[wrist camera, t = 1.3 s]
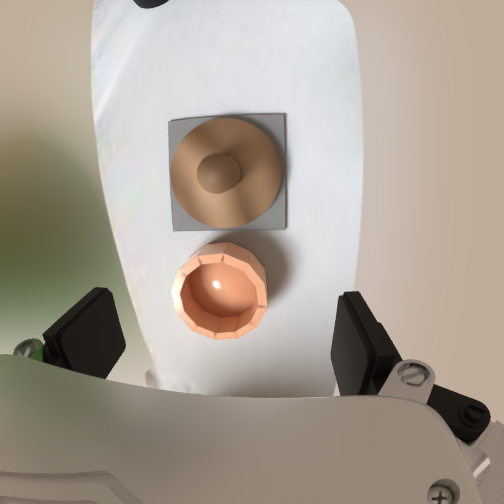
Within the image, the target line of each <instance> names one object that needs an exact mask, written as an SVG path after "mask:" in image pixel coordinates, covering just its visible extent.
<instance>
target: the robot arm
mask: <svg viewBox="0 0 504 504" xmlns="http://www.w3.org/2000/svg"><path fill="white" fill-rule="evenodd" d="M43 337H44V340H45V342H46V343H45V344H44V345H43V343H42V342H41V341H40V340H39V339H35V338H32V339H27V340H25V341H23V342H21V343H20V344H18V345H17V346H16V348H15V349H14V352H13V355H10V354H9V355H8V354H2V355H0V504H504V425H503V424H501V423H500V422H498V421H496V422H495V423H493V422H491V421H490V418H491V416H490V412H489V410H488V408H487V407H486V406H485V405H484V404H483V403H481V402H480V401H478V400H475V399H472V398H469V397H467V396H464V395H461V394H458V393H456V392H454V391H451V390H448V389H446V388H443V387H440V386H438V385H435V384H434V381H435V374H434V371H433V370H432V368H431V367H430V366H428V365H427V364H426V363H423V362H421V361H418V360H404V361H403V360H402V358H401V356H400V355H399V353H398V351H397V349H396V347H395V346H394V344H393V342H392V341H391V339H390V337H389V336H388V334H387V332H386V330H385V329H384V327H383V325H382V324H381V323H379V322H377V320H376V319H375V317H374V315H373V314H372V312H371V310H370V309H369V307H368V305H367V304H366V302H365V301H364V299H363V297H362V296H361V294H360V292H359V291H352V292H344V294H343V295H341V296H339V298H338V306H337V313H336V320H335V327H334V334H333V341H332V347H331V361H332V365H333V369H334V372H335V376H336V380H337V384H338V388H339V392H340V396H332V397H305V398H246V397H226V396H212V395H201V394H191V393H182V392H174V391H167V390H160V389H153V388H147V387H141V386H136V385H130V384H125V383H120V382H115V381H111V380H106V378H107V376H108V374H109V373H110V371H111V370H112V368H113V367H114V365H115V364H116V362H117V361H118V359H119V358H120V356H121V355H122V353H123V352H124V350H125V347H126V343H125V339H124V336H123V333H122V329H121V325H120V322H119V318H118V314H117V310H116V306H115V302H114V298H113V294H112V293H111V292H110V291H109V290H108V289H107V288H101V287H95V288H94V289H92V290H91V291H90V292H89V293H88V294H87V295H85V296H84V297H83V298H82V299H81V300H80V301H79V302H78V303H76V304H75V305H74V306H73V307H72V308H71V309H69V310H68V311H67V312H66V313H65V314H64V315H63V316H62V317H61V318H60V319H58V320H57V321H56V322H55V323H54V324H53V325H52V326H51V327H50V328H49V329H48V330H46V331H45V332H44V333H43Z"/></svg>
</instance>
